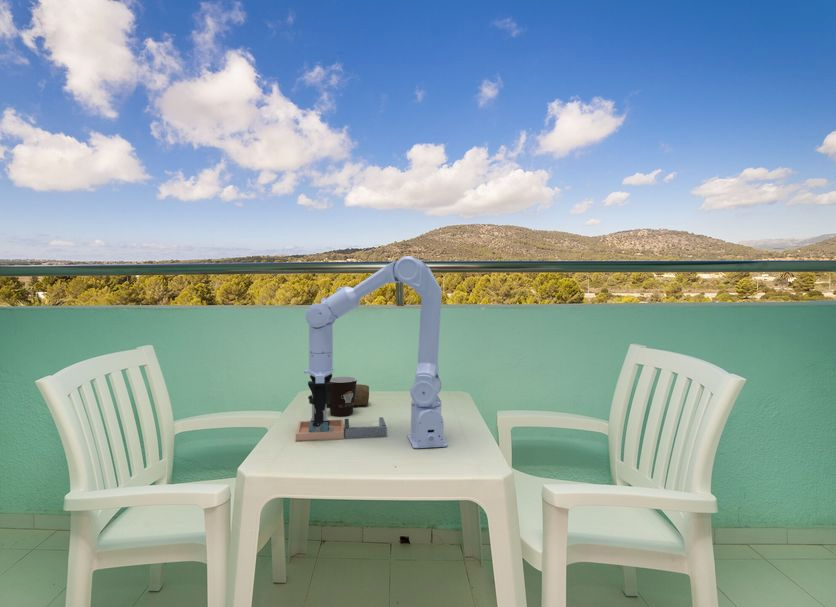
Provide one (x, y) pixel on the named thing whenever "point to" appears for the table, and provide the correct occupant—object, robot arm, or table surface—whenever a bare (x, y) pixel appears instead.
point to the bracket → (366, 430)
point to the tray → (305, 435)
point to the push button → (319, 418)
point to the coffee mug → (342, 396)
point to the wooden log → (361, 395)
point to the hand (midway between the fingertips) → (320, 406)
